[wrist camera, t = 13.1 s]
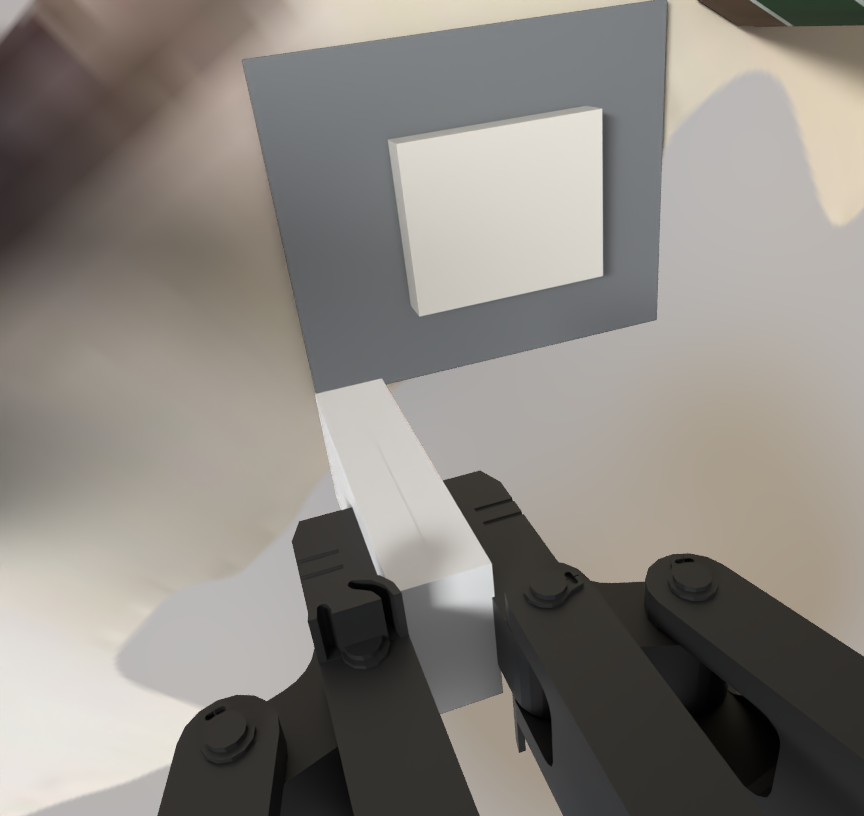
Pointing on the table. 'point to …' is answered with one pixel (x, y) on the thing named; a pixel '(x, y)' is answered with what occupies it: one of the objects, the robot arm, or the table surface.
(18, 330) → the table surface
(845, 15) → the beer bottle
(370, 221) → the mat
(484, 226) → the tile
